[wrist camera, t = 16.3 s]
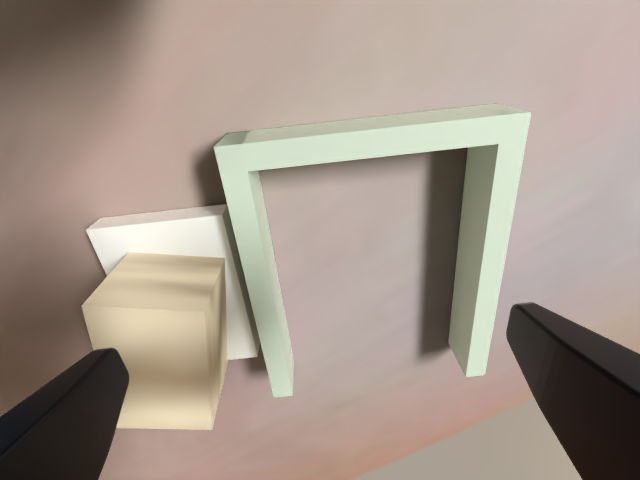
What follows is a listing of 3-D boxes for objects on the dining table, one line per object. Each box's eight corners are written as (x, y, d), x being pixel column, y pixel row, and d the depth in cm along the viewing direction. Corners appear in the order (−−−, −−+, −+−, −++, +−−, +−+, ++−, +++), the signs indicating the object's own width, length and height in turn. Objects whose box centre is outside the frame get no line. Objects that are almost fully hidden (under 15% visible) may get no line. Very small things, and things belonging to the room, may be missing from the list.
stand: (100, 217, 19) (85, 229, 18) (227, 203, 19) (222, 214, 18) (158, 351, 24) (149, 368, 22) (260, 340, 24) (257, 356, 22)
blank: (128, 252, 18) (81, 305, 14) (224, 257, 19) (204, 311, 15) (147, 361, 22) (113, 428, 18) (227, 364, 23) (212, 429, 19)
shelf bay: (226, 133, 17) (213, 146, 15) (496, 103, 17) (531, 111, 15) (276, 360, 25) (273, 397, 22) (464, 340, 25) (484, 375, 22)
